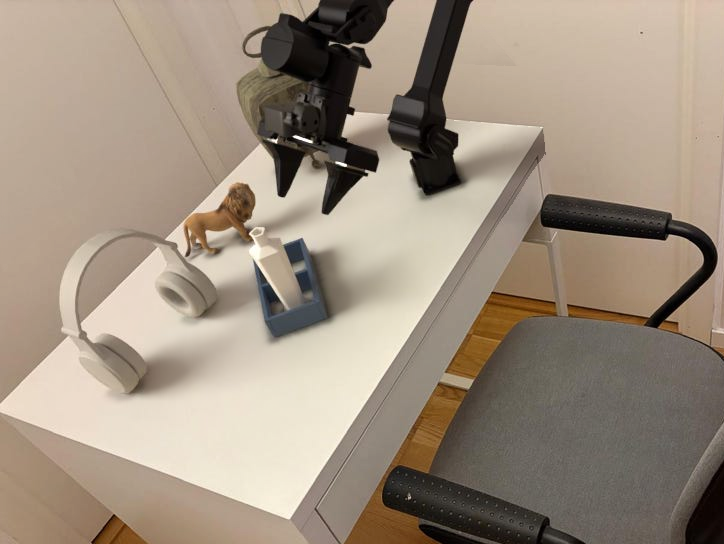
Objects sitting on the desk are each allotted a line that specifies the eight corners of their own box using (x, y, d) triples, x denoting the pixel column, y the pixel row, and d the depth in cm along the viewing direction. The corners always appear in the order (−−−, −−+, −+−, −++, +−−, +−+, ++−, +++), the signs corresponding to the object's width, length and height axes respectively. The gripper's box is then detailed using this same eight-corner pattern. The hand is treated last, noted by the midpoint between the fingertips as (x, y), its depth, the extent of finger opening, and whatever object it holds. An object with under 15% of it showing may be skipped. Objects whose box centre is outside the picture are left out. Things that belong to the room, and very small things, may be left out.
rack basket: (310, 254, 118) (302, 237, 115) (328, 318, 107) (319, 301, 105) (261, 272, 117) (252, 255, 115) (274, 338, 107) (264, 321, 104)
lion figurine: (265, 215, 127) (243, 172, 120) (273, 232, 124) (251, 187, 117) (183, 251, 124) (156, 209, 118) (189, 269, 121) (162, 226, 114)
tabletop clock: (339, 136, 139) (289, 3, 121) (358, 156, 134) (309, 20, 115) (269, 170, 136) (207, 38, 118) (286, 192, 130) (223, 57, 112)
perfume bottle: (284, 302, 111) (242, 224, 100) (312, 296, 111) (273, 218, 100) (281, 324, 108) (237, 246, 97) (310, 318, 108) (269, 239, 97)
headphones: (190, 292, 117) (124, 193, 103) (228, 304, 113) (165, 203, 99) (98, 387, 107) (11, 291, 92) (138, 402, 103) (53, 306, 89)
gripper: (237, 62, 98) (212, 179, 101) (334, 88, 88) (303, 215, 92) (301, 86, 107) (276, 192, 110) (395, 111, 98) (364, 226, 101)
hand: (302, 205), depth 103 cm, fingers open, 9 cm apart
